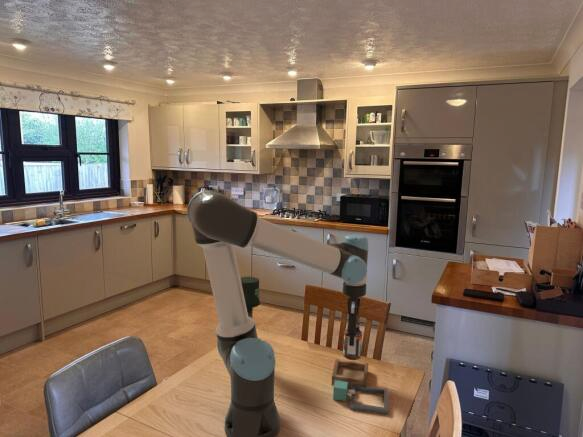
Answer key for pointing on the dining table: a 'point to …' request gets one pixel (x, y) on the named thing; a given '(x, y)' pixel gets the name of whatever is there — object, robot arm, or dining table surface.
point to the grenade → (250, 293)
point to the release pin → (341, 390)
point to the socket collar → (368, 407)
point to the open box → (350, 372)
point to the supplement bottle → (358, 344)
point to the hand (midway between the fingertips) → (352, 348)
